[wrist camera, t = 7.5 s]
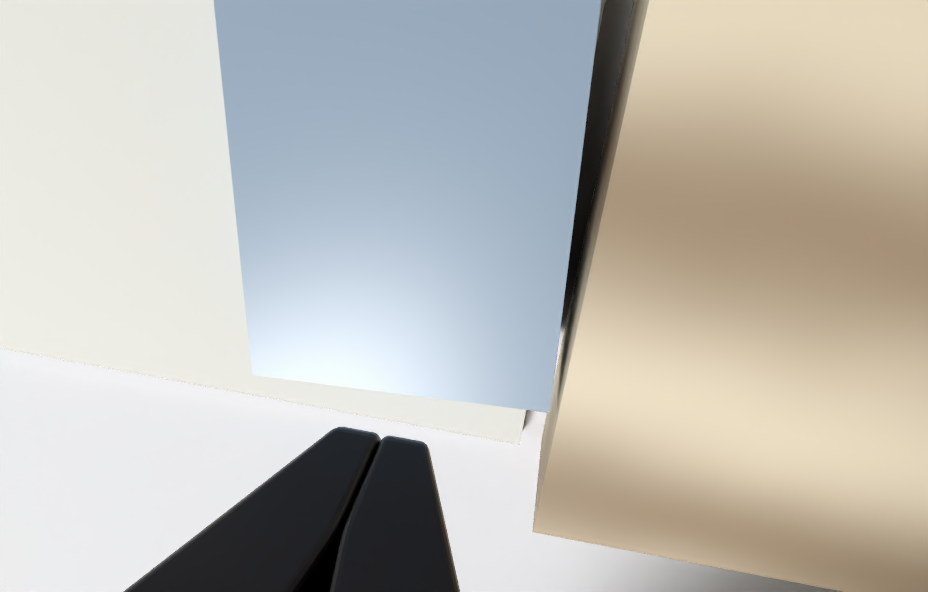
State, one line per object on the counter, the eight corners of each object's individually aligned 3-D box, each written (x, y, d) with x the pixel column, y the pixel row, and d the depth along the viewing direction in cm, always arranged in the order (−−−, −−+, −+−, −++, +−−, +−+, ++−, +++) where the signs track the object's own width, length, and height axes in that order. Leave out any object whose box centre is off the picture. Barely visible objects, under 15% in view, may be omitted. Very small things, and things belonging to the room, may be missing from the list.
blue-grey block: (555, 355, 18) (550, 413, 16) (284, 322, 18) (252, 374, 17) (611, -111, 13) (613, -101, 11) (250, -133, 14) (200, -127, 12)
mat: (520, 433, 19) (519, 444, 19) (-39, 330, 20) (-50, 339, 20) (660, -290, 12) (662, -294, 12) (-213, -397, 13) (-235, -403, 13)
